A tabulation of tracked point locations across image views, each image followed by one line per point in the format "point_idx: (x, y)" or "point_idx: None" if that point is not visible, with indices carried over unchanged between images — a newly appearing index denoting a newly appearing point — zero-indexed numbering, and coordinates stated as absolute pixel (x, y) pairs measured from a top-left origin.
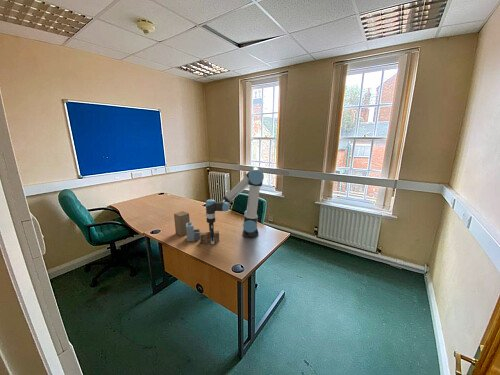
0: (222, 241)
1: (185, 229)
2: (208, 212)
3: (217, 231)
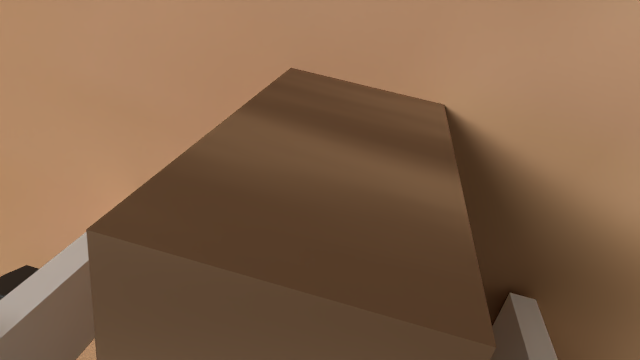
0: (543, 8)
1: None
2: None
3: (163, 322)
